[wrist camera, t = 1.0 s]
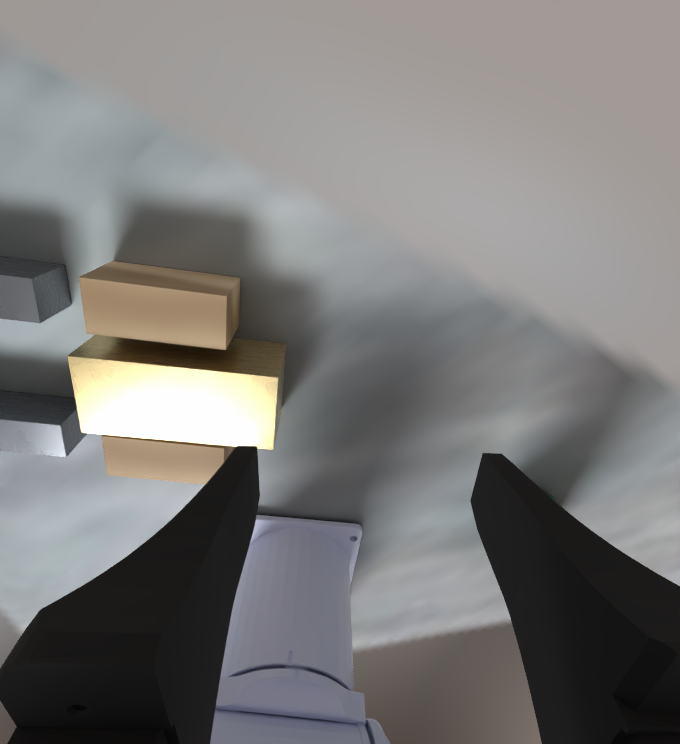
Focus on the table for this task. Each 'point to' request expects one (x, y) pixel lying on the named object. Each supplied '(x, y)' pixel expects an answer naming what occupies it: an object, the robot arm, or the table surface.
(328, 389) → the table surface
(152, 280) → the beam
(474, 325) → the table surface
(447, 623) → the table surface
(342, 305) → the table surface
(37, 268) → the cradle
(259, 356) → the block
